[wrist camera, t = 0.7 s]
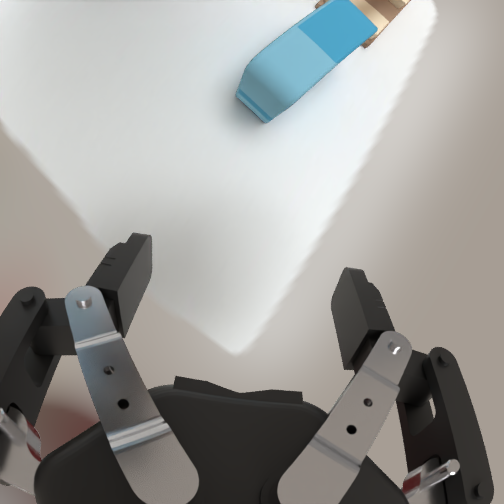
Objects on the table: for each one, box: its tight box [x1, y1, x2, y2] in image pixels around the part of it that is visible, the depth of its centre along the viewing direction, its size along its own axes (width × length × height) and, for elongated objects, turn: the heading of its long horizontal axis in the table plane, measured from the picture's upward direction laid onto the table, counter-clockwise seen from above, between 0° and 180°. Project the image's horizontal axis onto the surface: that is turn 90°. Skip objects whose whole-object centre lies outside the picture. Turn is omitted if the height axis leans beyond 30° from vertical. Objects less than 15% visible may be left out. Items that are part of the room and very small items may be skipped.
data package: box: [236, 0, 378, 123], centre depth 24 cm, size 12×4×12 cm, turn 136°
